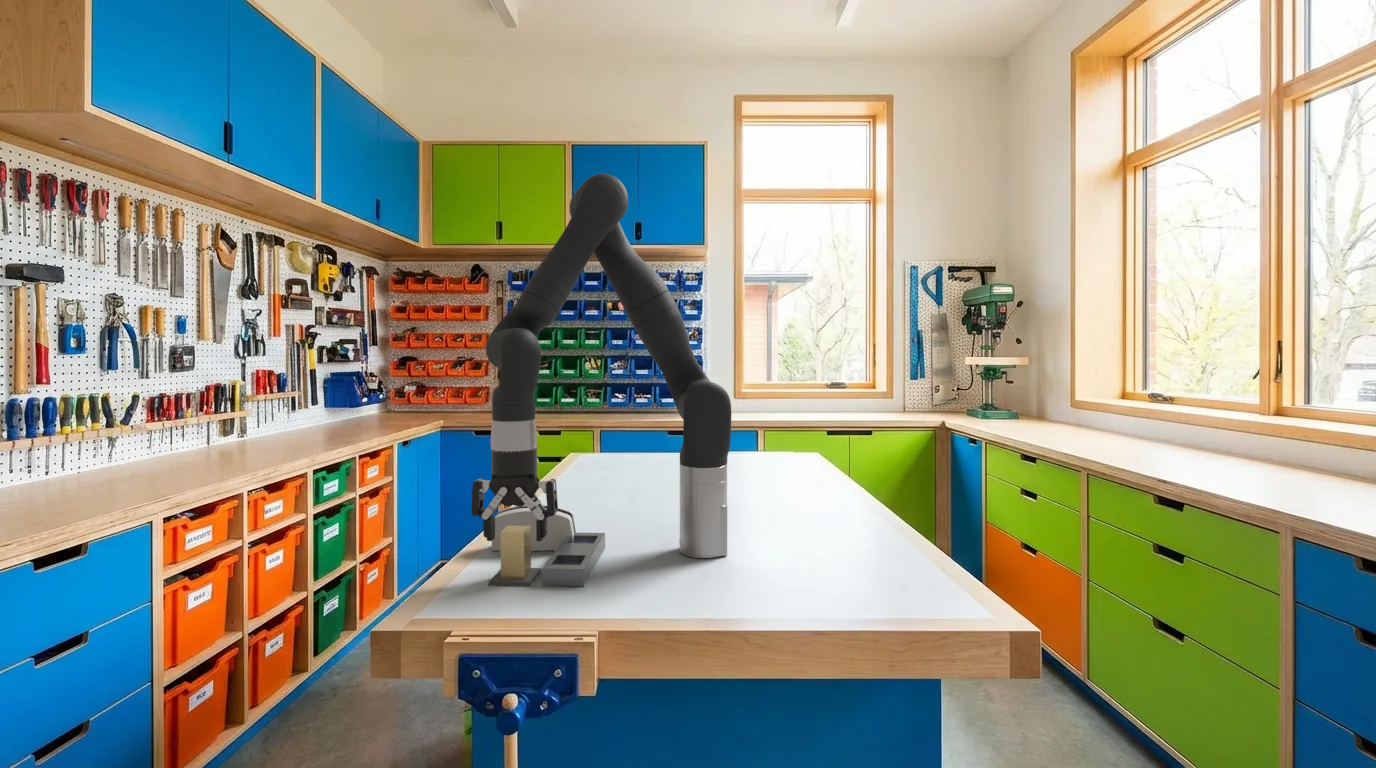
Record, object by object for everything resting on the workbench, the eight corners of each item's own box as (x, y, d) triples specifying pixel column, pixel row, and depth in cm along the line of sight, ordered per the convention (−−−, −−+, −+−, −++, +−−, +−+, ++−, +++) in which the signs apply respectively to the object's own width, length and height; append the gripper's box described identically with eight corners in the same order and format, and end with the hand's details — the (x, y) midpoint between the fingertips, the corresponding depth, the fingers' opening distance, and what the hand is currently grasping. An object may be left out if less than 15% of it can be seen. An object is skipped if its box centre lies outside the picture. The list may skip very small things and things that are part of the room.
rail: (605, 547, 126) (605, 532, 126) (583, 586, 105) (583, 569, 105) (570, 547, 127) (570, 532, 126) (542, 586, 106) (541, 568, 105)
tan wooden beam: (530, 570, 111) (530, 525, 111) (524, 579, 107) (524, 532, 107) (508, 570, 111) (507, 525, 111) (501, 578, 107) (500, 532, 107)
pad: (541, 571, 113) (541, 568, 113) (530, 586, 106) (530, 582, 106) (502, 570, 113) (502, 567, 113) (488, 585, 106) (488, 581, 106)
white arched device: (579, 547, 129) (578, 500, 127) (576, 558, 125) (575, 510, 123) (496, 546, 129) (494, 500, 127) (490, 557, 124) (487, 509, 122)
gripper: (560, 443, 112) (561, 534, 112) (480, 442, 112) (482, 533, 113) (550, 449, 104) (551, 547, 105) (464, 449, 105) (466, 546, 105)
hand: (515, 540), depth 109 cm, fingers open, 8 cm apart
